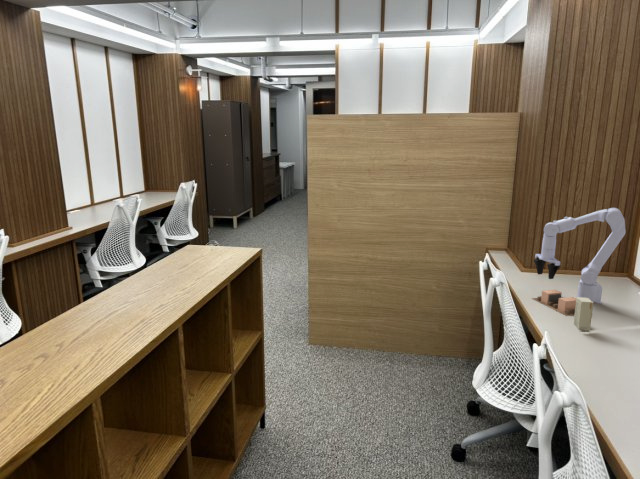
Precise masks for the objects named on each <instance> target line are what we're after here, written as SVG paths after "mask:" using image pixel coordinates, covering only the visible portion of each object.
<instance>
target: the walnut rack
mask: <svg viewBox="0 0 640 479" xmlns="http://www.w3.org/2000/svg"><path fill="white" fill-rule="evenodd" d="M541 296H542V295H541ZM541 296H540V295H539V296H537V297H532V298H531V300H533V301H535V302H538V303H539V304H542V305H543V306H545V307H547V308H549V309H552V310H553V311H555V312H557V313H559V314H561V315H563V316H565V317H571V316H575V309H574V310H566V312H562V311H560V310H558V301H553V302H548V304H545V303H543V302H541ZM561 298H564V297H562V296H561Z"/></svg>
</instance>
